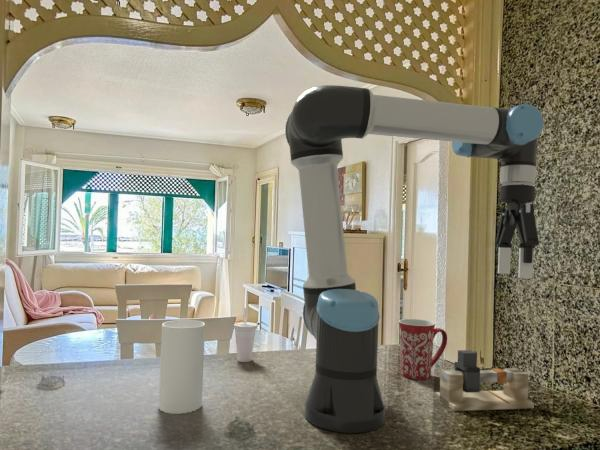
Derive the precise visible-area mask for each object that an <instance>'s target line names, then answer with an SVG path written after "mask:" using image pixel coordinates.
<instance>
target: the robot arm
mask: <svg viewBox="0 0 600 450" xmlns="http://www.w3.org/2000/svg"><path fill="white" fill-rule="evenodd" d="M543 117H544V116H543V115H542V113H541V110H539V109H538V108H537V107H536V106H535V105H532V104H530V103H529V104H527V103H524V104H523V103H522V104H519V105H514V106H512V107H511V108H503V107H502V108H501V107H491V106H481V105H473V104H472V105H471V104H463V103H454V102H453V103H452V102H447V101H446V102H445V101H435V100H426V99H417V98H410V97H409V98H407V97H398V96H391V95H390V96H389V95H381V94H380V95H379V94H374V93H373V92H372V90H371V89H370V88H367V87H357V86H349V85H333V84H332V85H331V84H330V85H327V84H326V85H325V84H324V85H318V86H317V85H316V86H313V87H311V88H308V89H307V90H305V91H304V92H302V94H300V95H299V97H298V98H297V99H296V101H295V102H294V105H293V108H292V110H291V112H290V114H289V115H288V117H287V119H286V120H287V121H286V123H285V133H284V134H285V138H286V142H287V144H288V146H289V153H290V164H292V166H294V167H295V168H296V169H297V170H298V175H299V178H298V179H299V186H300V188H299V189H300V196H301V205H302V207H301V208H302V219H303V226H304V228H303V229H304V238H305V248H306V249H305V250H306V258H307V268H308V271H307V272H308V278H307V279H306V281H305V282H304V283H303V284H302V287H303V298H304V304H303V307H302V308H303V309H302V319H303V322H304V325H305V327H306V329H307V331H308V332H309V334H310V335H312V337H314V339H315V340H316V344H315V372H314V373H315V374H314V376H313V379H312V382H311V385H310V388H309V391H308V392H307V393H308V394H307V396H306V399H305V402H304V403H305V404H304V417H305V419H306V420H307V421H308V422H309V423H310V424H312V425H314V426H316V427H318V428H321V429H324V430H327V431H332V432H337V433H348V434H357V433H358V434H359V433H360V434H361V433H367V432H372V431H375V430H377V429H379V428H381V427H382V426H383V425H384V424H385V421H386V407H385V406H386V405H385V403H384V400H383V396H382V393H381V389H380V386H379V382H378V376H377V373H378V351H379V350H378V349H379V348H378V345H379V342H378V341H379V339H378V338H379V321H380V312H379V302H378V299H377V298H376V297H375V296H374V295H372V294H370V293H368V292H365V291H361V290H357V286H356V279H354V278H353V277H352V276H351V275H349V273H348V267H347V266H348V264H347V256H346V255H347V254H346V245H345V236H344V235H345V233H344V225H343V213H342V203H341V194H340V191H341V190H340V184H339V172H338V166H339V164H340V162H341V161H342V160H343V159H344V152H343V141H342V140H343V139H364V138H366V137H367V136H368V135H376V136H389V137H398V138H410V139H422V140H431V141H433V140H434V141H444V142H451V148H452V151H453V153H454V154H455V155H457V156H459V157H467V158H481V159H492V160H493V159H494V160H500V170H499V171H500V174H499V184H500V185H501V186H500V187H499V197H498V198H499V199H498V200H499V202H501V203H505V204H506V207H501V209H500V218H499V223H498V227H497V228H498V229H497V234H496V238H495V245H497V247H498V254H497V255H498V257H497V258H498V260H497V261H498V262H497V274H499V275H500V274H502V275H511V261H512V260H511V258H512V248H513V245H512V243H511V242H512V240H513V238H514V234H515V231H516V232H517V235H518V239H519V242H520V243H519V244H518V247H517V248H519V249H518V273H517V275H518V276H517V278H518V279H531V280H532V279H533V278H534V273H533V271H534V249H535V248H536V246H539V245H540V241H539V236H538V230H537V224H536V218H535V205H534V202H535V200H536V187H535V186H534V185H535V184H536V177H537V176H538V172H537V169H536V168H537V152H538V151H537V150H538V149H537V148H538V139H539V137H540V136H541V134H542V132H543V129H544V125H545V124H544V118H543Z"/></svg>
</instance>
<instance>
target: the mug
mask: <svg viewBox="0 0 600 450" xmlns="http://www.w3.org/2000/svg"><path fill="white" fill-rule="evenodd" d="M398 325H399V348H400V373H401V376H402V377H404V378H407V379H411V380H419V381H421V380H428V379H430V378H431V376H432V368H433V366H434V365H436V363H437V362H438V361H439V359H440V358H441V357H442V355H443V353H444V351H445V349H446V347H447V345H448V334H447V332H446V331H445V330H444V329H443V328H440V327H435V326H436V323H435V322H434V321H431V320H427V319H419V318H404V319H400V320H398ZM438 333H441V337H442V338H441V339H442V340H441V344H440V345H439V348H438V350H437V351H436V353H435V354H434V356H433V349H434V340H435V338H436V336H437V334H438Z"/></svg>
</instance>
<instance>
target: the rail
mask: <svg viewBox="0 0 600 450" xmlns="http://www.w3.org/2000/svg"><path fill="white" fill-rule="evenodd" d="M439 371H440V372H439V373H440V374H439V391H436V392H434V395H435V396H434V397H435V398H436V399H438V400H439V401H440V402H441V403H443V404H444V405H446V407H448V408H449V409H451V410H452V411H453V412H460V411H461V412H463V411H489V410H490V411H491V410H493V411H494V410H520V409H521V410H522V409H535V403H534V402H533V401H531V400H529V399H528V398H529V394H528V393H529V373H527V372H525V371H523V370H521V369H519V368H516V367H512V368H509V367H508V368H503V369H502V368H500V367H499V368H497V367H495V368H491V369H480V383H481V384H482V383H485V384H486V383H487V384H488V383H496V384H497V385H503V390H480V392H465V391H463V383H464V374H465V371H455V370H454V368H453V369H452V368H451V369H449V368H448V369H446V368H445V369H443V368H442V369H440V370H439Z"/></svg>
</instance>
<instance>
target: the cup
mask: <svg viewBox="0 0 600 450" xmlns="http://www.w3.org/2000/svg"><path fill="white" fill-rule="evenodd" d="M205 332H206V324H205V322H204V321H201V320H196V319H195V320H194V319H178V320H176V319H175V320H174V319H173V320H169V321H165V322H162V324H161V341H160V342H161V343H160V344H161V345H160V365H159V367H160V368H159V385H158V386H159V389H158V409H160V410H159V411H161V412H162V411H163V413H166V414H172V415H179V414H181V415H182V413H183V414H189V413H193V412H195V411H198V410H199V409H200V408H202V405H203V385H204V363H205V361H204V359H205V338H206V336H205V335H206V333H205ZM197 409H198V410H197ZM192 411H193V412H192ZM188 412H189V413H188Z"/></svg>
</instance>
